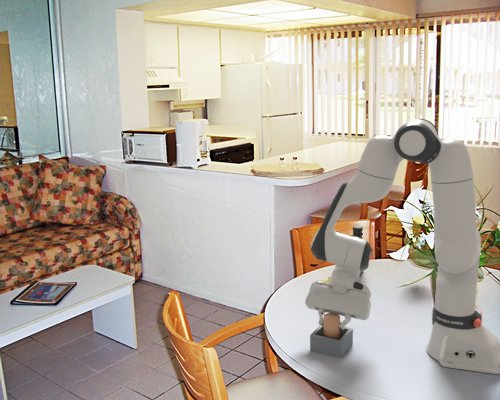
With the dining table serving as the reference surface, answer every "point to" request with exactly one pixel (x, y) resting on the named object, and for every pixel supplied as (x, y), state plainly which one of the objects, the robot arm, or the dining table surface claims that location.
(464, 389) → the dining table surface
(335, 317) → the canister
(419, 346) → the dining table surface
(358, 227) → the sauce bottle
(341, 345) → the gray open box
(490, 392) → the dining table surface
